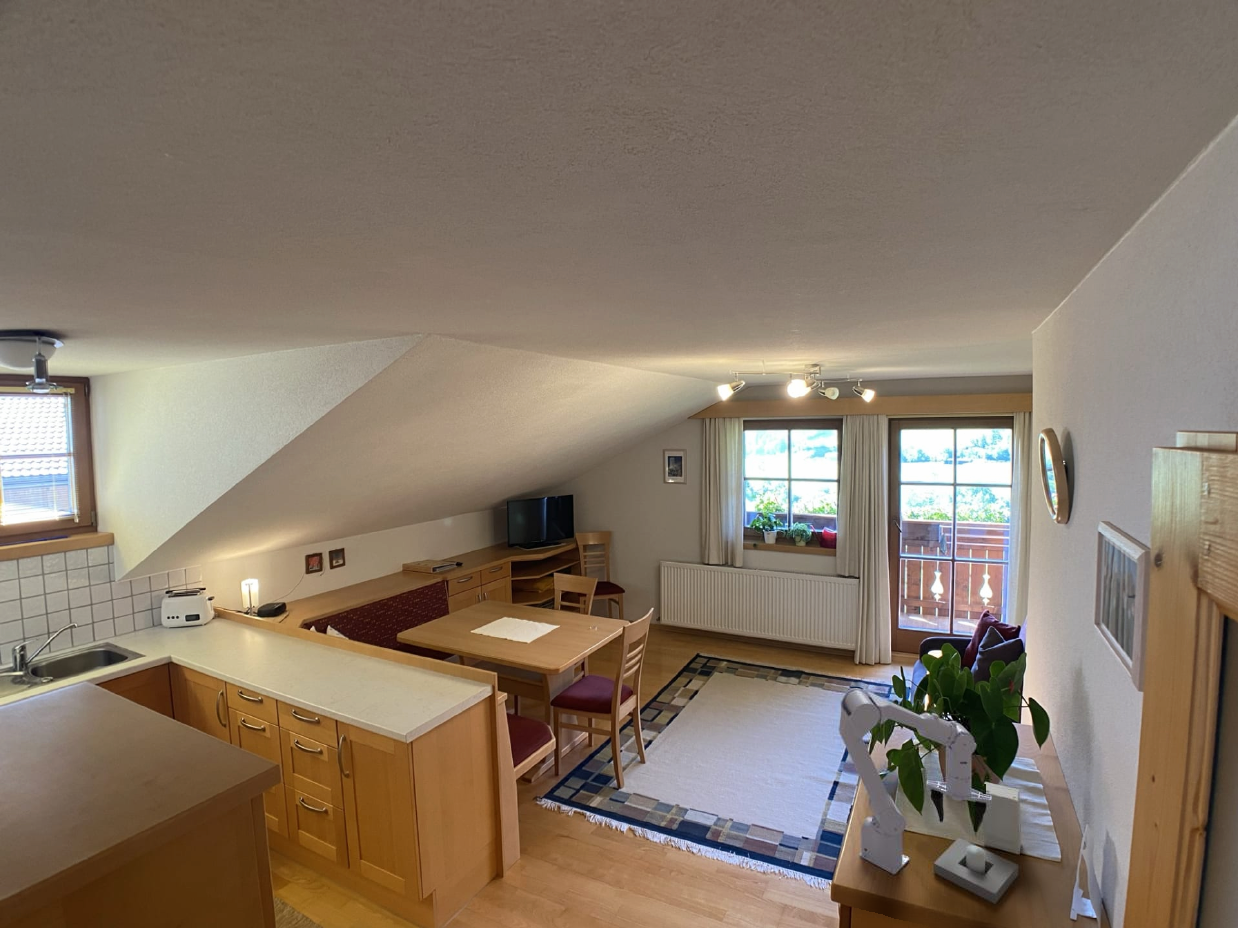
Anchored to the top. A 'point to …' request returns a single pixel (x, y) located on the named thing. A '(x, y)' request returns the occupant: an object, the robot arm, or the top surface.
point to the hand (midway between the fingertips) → (958, 824)
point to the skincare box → (1003, 819)
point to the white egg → (975, 859)
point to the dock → (983, 886)
